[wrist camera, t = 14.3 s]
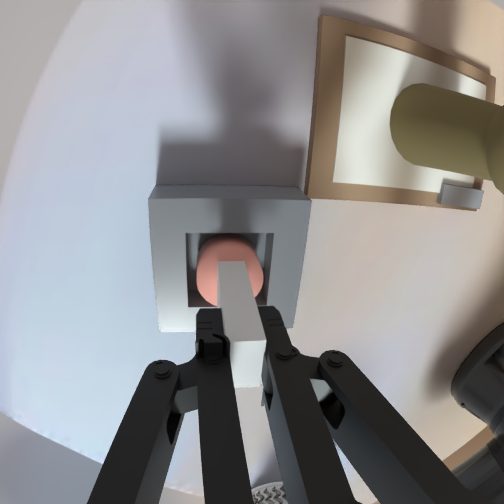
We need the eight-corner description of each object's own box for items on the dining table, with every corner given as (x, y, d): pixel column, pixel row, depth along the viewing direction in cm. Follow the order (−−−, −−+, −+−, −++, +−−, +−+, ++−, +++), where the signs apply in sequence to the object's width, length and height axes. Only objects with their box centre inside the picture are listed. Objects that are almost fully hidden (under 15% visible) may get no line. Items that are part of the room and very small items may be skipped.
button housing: (297, 187, 21) (311, 200, 18) (283, 303, 25) (292, 328, 22) (155, 185, 19) (148, 198, 17) (163, 306, 23) (159, 331, 21)
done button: (258, 233, 20) (266, 250, 18) (254, 286, 22) (260, 307, 20) (196, 233, 19) (196, 250, 17) (197, 287, 21) (197, 308, 19)
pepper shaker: (399, 69, 17) (535, 73, 7) (460, 102, 18) (582, 130, 8) (379, 153, 19) (506, 209, 10) (442, 175, 21) (556, 234, 11)
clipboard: (489, 77, 18) (500, 78, 17) (470, 208, 24) (480, 213, 22) (318, 17, 16) (326, 12, 15) (303, 194, 21) (310, 201, 20)
